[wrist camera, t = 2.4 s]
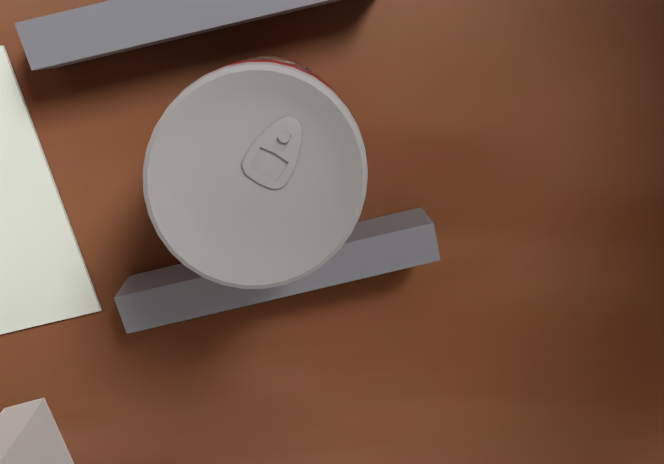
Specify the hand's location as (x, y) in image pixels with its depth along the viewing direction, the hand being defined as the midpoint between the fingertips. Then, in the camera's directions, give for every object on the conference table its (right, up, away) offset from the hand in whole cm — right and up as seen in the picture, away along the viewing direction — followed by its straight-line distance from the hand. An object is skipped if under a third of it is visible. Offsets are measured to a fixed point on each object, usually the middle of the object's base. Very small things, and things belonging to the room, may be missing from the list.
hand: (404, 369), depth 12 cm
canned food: (-5, +7, +20) cm, 22 cm away
